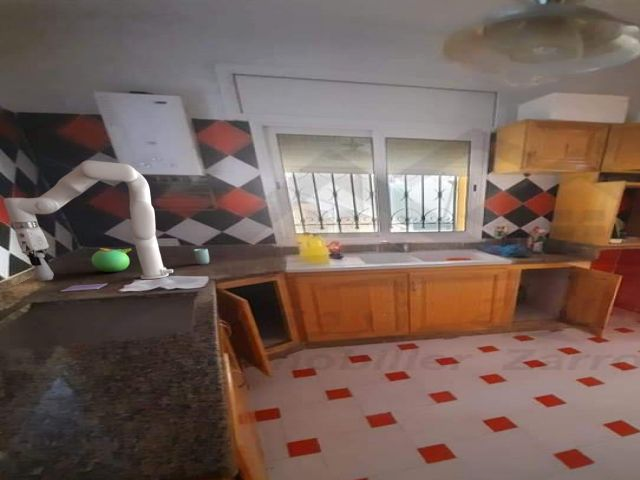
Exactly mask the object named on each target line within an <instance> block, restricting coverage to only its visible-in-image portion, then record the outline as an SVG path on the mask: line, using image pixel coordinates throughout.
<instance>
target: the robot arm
mask: <svg viewBox="0 0 640 480" xmlns="http://www.w3.org/2000/svg"><path fill="white" fill-rule="evenodd" d="M99 181H115V182H117V181H118V182H124V183H125V184H126V185H127V187H128V194H129V195H128V196H129V212H130V224H131V225H130V232H131V235H132V238H133V241H134V245H135V249H136V253H137V256H138V260H139V264H140V267H141V270H142V275H140V279H141V280H154V279H161V278H165V277H168V276H169V275H170V274H173V273H174V269H172V268H170V269H169V268H167V267H166V266H164V263H163V260H162V255H161V252H160V247H159V242H158V239H157V235H156V233H157V232H156V230H157V229H156V216H155V209H154V207H153V205H152V196H151V189H150V186H149V185H150V184H149V183H148V181H147V179H146V178H145V177H144V176H143V175H142V173H140V172H139V171H137V170H136V169H135V168H134V167H133V166H131V165H130V164H127V163H121V162H111V161H101V160H91V159H87V160H84V161H82V162H81V163H80V165H78V166H77V167H76V168H74V169H73V170H71V171H70V172H69V173H67V174H66V175H64V176H63V177H61V178H60V179H59V180H58V181H57V182H56V184H55V185H54V186H53V187H51V188H50V189H49V190H47V191H46V192H45V193H43V194H42V195H40V196H39V197H31V198H30V197H29V198H26V197H5V198H4V199H3V204H4V207H5V209H6V211H7V214H8V216H9V219H10V221H11V224H12V227H13V229H14V231H15V236H16V239H17V242H18V245H19V248H20V249H21V253H22V254H24V255H25V256H26V257H27V258H28V259H29V262H30V265H31V267H32V266H33V267H34V266H40V265H42V264H41V262H40V259H39V257H37V253H43V254H44V256H45V257H44V258H43V259H44V260H45V262H46V263H47V264H49V263H50V260H49V258H48V256H47V255H48V253H47V250H48V248H50V245H49V242H48V240H47V238H46V236H45V233H44V232H43V230H42V229H41V227H40V224H39V222H38V218H37V216H36V214H37V215H51V214H53V213H55V212H57V211H58V210H60V209H61V208H62V207H64V206H65V205H66V204H67V203H69V202H70V201H72V200H73V199H75V198H77V197H79V196H80V195H82V194H83V193H85V192H86V191H87V190H88V189H90V188H91V187H93V186H94V185H95V184H97V183H98V182H99Z"/></svg>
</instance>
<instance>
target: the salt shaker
mask: <svg viewBox="0 0 640 480" xmlns="http://www.w3.org/2000/svg"><path fill="white" fill-rule="evenodd" d="M37 257H39V259H40V262H41V264H42V265H40V266H33V268H34V276H35V277H36V278H37V279H38V280H39V281H50V280H53V279H54V272H53V270H52V269H51V268H50V266H49V264H48V263H46V262H45V260H44V259H43V258H44V257H45V256H44V254H43V253H37Z"/></svg>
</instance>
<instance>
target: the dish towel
mask: <svg viewBox="0 0 640 480" xmlns="http://www.w3.org/2000/svg"><path fill="white" fill-rule="evenodd" d="M107 285H109V283H107V282H106V283H95V284H94V283H92V284H81V285H71V286H70V287H67V288H64V289H61V290H60V291H59V292H60V293H65V292H79V291H80V292H81V291H92V290H93V291H94V290H98V289H101V288H103V287H105V286H107Z"/></svg>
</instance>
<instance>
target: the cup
mask: <svg viewBox="0 0 640 480" xmlns="http://www.w3.org/2000/svg"><path fill="white" fill-rule="evenodd" d="M193 255H194V258H195V259H194V260H195V261H196V263H197V265H201V266H203V265H208V264H209V263H210V253H209V250H208V248H195V249H193Z"/></svg>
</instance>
